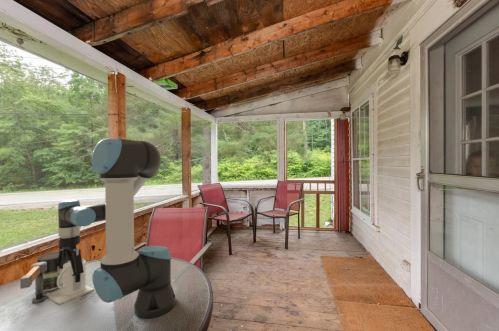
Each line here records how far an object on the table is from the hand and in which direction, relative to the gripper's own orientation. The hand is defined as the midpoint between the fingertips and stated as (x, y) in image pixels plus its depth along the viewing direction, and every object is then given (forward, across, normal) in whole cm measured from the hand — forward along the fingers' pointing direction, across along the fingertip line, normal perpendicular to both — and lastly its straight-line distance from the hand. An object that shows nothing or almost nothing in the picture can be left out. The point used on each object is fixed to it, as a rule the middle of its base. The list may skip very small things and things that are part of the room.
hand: (70, 285), depth 104 cm
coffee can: (+3, +15, +1) cm, 15 cm away
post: (+3, +5, +9) cm, 11 cm away
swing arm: (-9, 0, +12) cm, 15 cm away
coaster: (+3, 0, 0) cm, 3 cm away
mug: (+3, 0, 0) cm, 3 cm away
